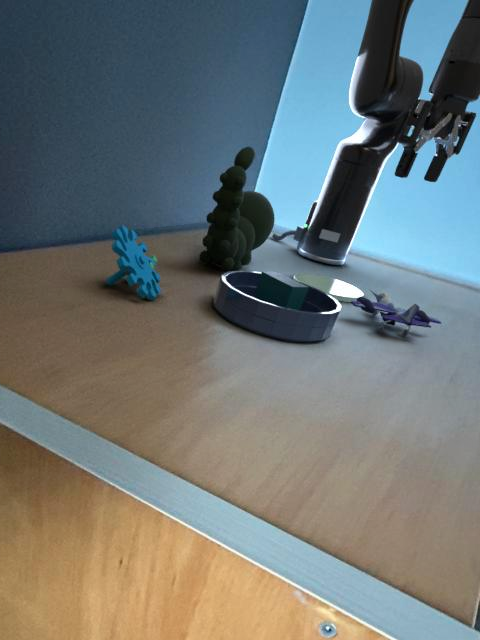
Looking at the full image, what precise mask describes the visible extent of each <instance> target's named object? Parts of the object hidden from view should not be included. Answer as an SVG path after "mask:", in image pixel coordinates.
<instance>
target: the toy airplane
mask: <svg viewBox="0 0 480 640" xmlns="http://www.w3.org/2000/svg"><path fill="white" fill-rule="evenodd" d="M369 291H370V292H371V293H372V294H373V295H374V297H375V300H376V301H377V302H375V301H372V300H370V299H369V298H366V297H364V296H363V297H362V296H360V297H358V298H357V301H352V302H350V304H351V305H353V306H354V307H357V308H359V309H361V310H362V311H363V312H365V313H368V314H371V317H372V318H374V317H376V316H377V315H379V314H380V317H381V320H382V322H381V324H380V325H379V326H378V329H377V330H378V332H379V333H382V332H383V331H385V325H384V324H386V325H388V326H389V325H390V326H395V325H396V323H399V324H403V325H405V326H406V327H408V328H405V329H404V330H403V331H402V336H403V338H404V337H408V335H409V333H410V329H411V326H413V327H414V326H415V327H423V328H429V329H431V328H432V325H430V323H432V324H433V323H434V324H438V325H441V324H442V321H441V320H440V319H438V318H437V317H433V316H429V315H428V314H427V313H426V312H425V311H424V310H421V309H420V306H419V305H418V304H417V303H414V304H412V305H411V306H410V307H409V308H408V309H405V308H401V307H398V306H397V305H395V304H394V303H393V301H392V300H391V298H390V297H389V295H388V293H385V292H382V293H379V294H378V293H375V292H374V291H373V290H371V289H369Z"/></svg>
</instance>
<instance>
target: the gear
mask: <svg viewBox="0 0 480 640" xmlns="http://www.w3.org/2000/svg"><path fill="white" fill-rule="evenodd" d="M111 237H112V239H113V240H114V241H113V242H112V243H111V249H112V251H113V252H114V253H115V254H117V255H118V256H119V257H118V258H117V259H116V265H117V267H118V269H119V270H117V271H116V272H115V273H113V274H112V275H110V276H109V277H107V278H106V279H105V282H106V284H107V285H108V286H109V287H111V286H113V285H114V284H116V283H118V282H119V281H120V280H122V279H123V278H125V281H126V282H127V284H128V285H129V287H132V286H134V285H135V284H138V287H137V288H136V293H137V294H138V295H139V297H141V298H142V299H143V298H144V297H146V299H148V300H149V301H152V300H155V299H156V298H157V295H158V294H159V293H161V292H162V288H161V287H160V285H159V283H160V282H161V275H160V274H159V273H158V272H156V271H155V270H154V269H155V268H156V267H157V264H156V263H158V258H157V256H156V255H155V254H153V255H151V256H149V257H148V255H146V254H145V253H146V252H148V251H149V249H148V246H147V245H146V243H145V241H141V242H140V243H138V244H137V241H136V240H138V235H137V233H136V232H135V231H134V229H131V230H129V229H128V228H127V227H126V226H125V225H124V224H121V225H120V226H119V227H117V229H115V230H114V232H111Z"/></svg>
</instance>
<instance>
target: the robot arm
mask: <svg viewBox="0 0 480 640" xmlns="http://www.w3.org/2000/svg"><path fill="white" fill-rule="evenodd" d="M414 1H415V0H371V1H370V2H371V3H370V8H369V11H368V15H367V21H366V25H365V28H364V32H363V36H362V38H361V43H360V46H359V50H358V53H357V57H356V61H355V65H354V69H353V72H352V76H351V81H350V86H349V94H348V99H349V101H348V102H349V106H350V109H351V111H352V113H354V115H356V116H358V117H360V118H363V122H362V124H361V126H360V128H359V129H358V130H357V131H356V132H355V133H354V134H353V135H352V136H350V137H347V138H345V139H343V140H341V141H340V142H339V144H338V145H337V148H336V149H335V153H334V156H333V158H332V161H331V164H330V167H329V169H328V172H327V175H326V177H325V180H324V183H323V186H322V188H321V191H320V193H319V197H318V199H317V200H314V201H313V202H312V204H311V207H310V210H309V212H308V215H307V218H306V221H305V223H304V225H303V226H301V225H297V226H296V229H295V230H294V229H292V230H287V231H284V232H283V233H282V234H281V235H279V234H277V233H273V234H272V236H271V237H272V238H273V239H274V240H276V241H281V240H284V239H285V238H287V237H288V236H293V238H292V240H294V241H297V242H298V243H297V245H296V247H295V252H297V253H298V254H299V255H301V256H302V257H304V258H306V259H309V260H312V261H314V262H318V263H321V264H326V265H333V266H343V265H344V264H345V261H346V258H347V255H348V253H349V251H350V249H351V246H352V243H353V241H354V239H355V236H356V234H357V231H358V229H359V226H360V224H361V222H362V219H363V217H364V215H365V212H366V209H367V207H368V205H369V202H370V201H371V198H372V195H373V194H374V190H375V188H376V186H377V183H378V181H379V179H380V176H381V174H382V171H383V169H384V167H385V164H386V162H387V161H388V159H389V158H390V157H391V155H392V154H393V153H394V151H395V150H396V149H397V147H398V145H399V144H400V145H402V150H403V151H402V154H401V156H400V158H399V161H398V163H397V165H396V167H395V171H394V176H395V177H398V178H401V179H407V178H408V177H409V175H410V173H411V171H412V168H413V166H414V163H415V162H416V159H417V156H418V155H419V153H418V152H419V151H420V149H421V148H422V147H423V146H424V145H425V144H426V143H427V142H430V141H432V140H433V142H434V143H435V155H433V157H432V159H431V161H430V164H429V166H428V168H427V170H426V172H425V174H424V176H423V180H424V181H425V182H430V183H436V182H437V181H438V180H439V178H440V177H441V174H442V172H443V169H444V167H445V165H446V163H447V161H448V159H450V158H451V157H452V156H454V155H455V156H458V155H459V154H460V153H461V151H462V149H463V147H464V144H465V142H466V139H467V137H468V135H469V133H470V131H471V128H472V127H473V124H474V122H475V120H476V117H477V113H476V112H472V111H468V110H467V108H468V104H469V103H475V102H476V101H477V100H479V98H480V0H467V2H466V5H465V8H464V10H463V12H462V14H461V16H460V19H459V21H458V24H457V25H456V27H455V29H454V30H453V32H452V34H451V36H450V38H449V41H448V43H447V45H446V46H445V47H446V48H445V50H444V52H443V54H442V57H441V59H440V62H439V64H438V67H437V69H436V71H435V73H434V76H433V78H432V81H431V83H430V85H429V88H428V93H429V94H430V95H432V96H431V98H430V100H428V99H421V98H420V97H421V93H422V90H423V85H424V71H423V69H422V65H420V64H419V63H418V62H417V61H415V60H413V59H410V58H407V57H404V56H402V55H400V53H401V45H402V39H403V36H404V30H405V26H406V22H407V18H408V16H409V12H410V9H411V7H412V5H413V3H414ZM411 128H412V130H411ZM410 131H411V134H410V135H409V133H410ZM456 142H457V143H456ZM455 143H456V144H455Z"/></svg>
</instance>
